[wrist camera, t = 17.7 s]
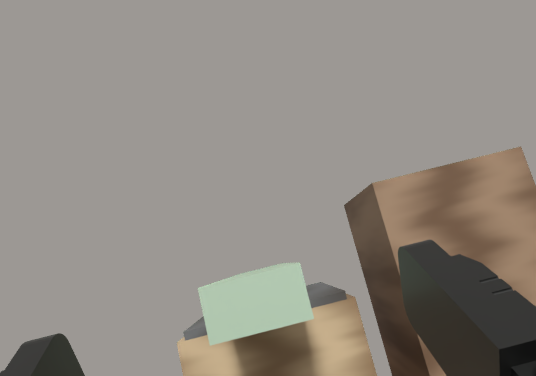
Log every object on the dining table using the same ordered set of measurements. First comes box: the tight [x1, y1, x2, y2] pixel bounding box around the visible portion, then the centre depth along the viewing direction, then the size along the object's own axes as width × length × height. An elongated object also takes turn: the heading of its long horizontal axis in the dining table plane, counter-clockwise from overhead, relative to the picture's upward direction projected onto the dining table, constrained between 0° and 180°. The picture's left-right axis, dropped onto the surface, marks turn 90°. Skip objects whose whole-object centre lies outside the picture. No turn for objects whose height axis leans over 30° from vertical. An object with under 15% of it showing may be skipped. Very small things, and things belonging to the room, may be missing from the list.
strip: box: [198, 263, 314, 346], centre depth 29 cm, size 4×24×2 cm, turn 0°
